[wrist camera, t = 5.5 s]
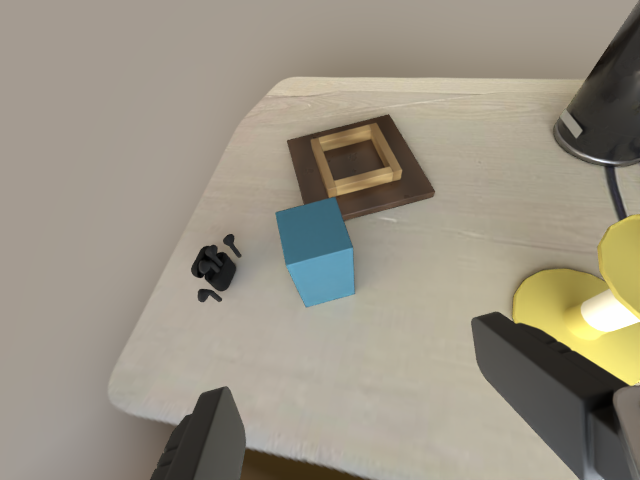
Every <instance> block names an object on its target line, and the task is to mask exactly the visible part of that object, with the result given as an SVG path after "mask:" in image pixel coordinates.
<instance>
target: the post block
mask: <svg viewBox="0 0 640 480" xmlns="http://www.w3.org/2000/svg"><path fill="white" fill-rule="evenodd" d="M275 214H276V219H277V224H278V229H279V234H280V239H281V244H282V249H283V254H284V259H285V263H286V267H287V269H288V271H289V273H290V275H291V277H292V279H293V281H294V283H295V285H296V288H297V290H298V292H299V294H300V296H301V298H302V300H303V302H304V304H305V306H306V307H309V306H313V305H317V304H320V303H324V302H327V301H331V300H335V299H338V298H342V297H346V296H349V295H353V294H355V289H354V262H353V246H352V243H351V240H350V238H349V235H348V232H347V229H346V226H345V223H344V220H343V218H342V215H341V212H340V209H339V206H338V203H337V200H336V198H335V197H332V198H328V199H324V200H321V201H317V202H313V203H309V204H305V205H302V206H298V207H294V208H290V209H286V210H283V211H279V212H276V213H275Z"/></svg>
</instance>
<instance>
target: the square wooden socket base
mask: <svg viewBox="0 0 640 480" xmlns="http://www.w3.org/2000/svg"><path fill="white" fill-rule="evenodd" d="M287 143H288V147H289V150H290V154H291V158H292V161H293V165H294V169H295V172H296V176H297V180H298V183H299V187H300V191H301V194H302V198H303V202H304V205H305V204H309V203H313V202H317V201H321V200H324V199H328V198H332V197H335V198H336V200H337V203H338V206H339V209H340V212H341V215H342V218H343V220H344V221H345V220H349V219H352V218H356V217H360V216H364V215H367V214H371V213H375V212H379V211H382V210H386V209H390V208H394V207H397V206H401V205H405V204H409V203H412V202H416V201H420V200H424V199H427V198H431V197H433V196H434V193H435V191H434V189H433V187H432V186H431V184H430V182H429V181H428V179H427V177H426V176H425V174H424V172H423V171H422V169H421V167H420V166H419V164H418V162H417V161H416V159H415V157H414V155H413V154H412V152H411V150H410V149H409V147H408V145H407V144H406V142H405V140H404V139H403V137H402V135H401V134H400V132H399V130H398V129H397V127H396V125H395V124H394V122H393V120H392V119H391V117H390V115H389V114H388V115H384V116H380V117H377V118H373V119H369V120H365V121H361V122H357V123H353V124H349V125H345V126H342V127H338V128H334V129H330V130H326V131H322V132H318V133H314V134H310V135H307V136H303V137H299V138H295V139H291V140H287Z"/></svg>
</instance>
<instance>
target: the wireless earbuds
mask: <svg viewBox="0 0 640 480" xmlns="http://www.w3.org/2000/svg"><path fill="white" fill-rule="evenodd" d="M223 242H224V244H226V245H228V246H230V248H231V249H232V250H233V252H234V253H235V254H236V256H237V257H238V258H241V254H240V253H239V251H238V250H237V248H236V247H235V246H234V244H233V242H234V235H233V234H229V235H227V236H226V237H225V238H224V240H223ZM235 271H236V266H235V264H234V263H233V262H232V260H231V259H230V258H229V257H228V255H227V254H226V253H224V252H220V253H217V246H216V245H211V246H205V247H203V248H202V249H201V250H200V252H199V254H198V256H197V258H196V260H195V262H194V263H193V265H192V268H191V272H192V274H193V275H194V276H195V277H198V278H202V277H203V276H204V275H205V280H206V281H207V282H208V283H210V284H211V285H212V286H213V287H214V288H215V289H216V290H218V291H224V290H226V289H227V288H228V287H229V285H230V282H231V280H232V278H233V276H234V273H235ZM209 295H211V296H212V297H213V298H214V299H215V300H217V301H218V302H221V301H222V298H221V297H220V296H218V295H217V294H216V293H215V292H214V291H212V290H208V289H200V290H199V291H198V300H199V301H200V302H204V301H205V300H206V299H207V298H208V296H209Z"/></svg>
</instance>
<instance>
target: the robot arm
mask: <svg viewBox="0 0 640 480" xmlns="http://www.w3.org/2000/svg"><path fill="white" fill-rule="evenodd" d="M554 136H555V139H556V140H557V142H558V143H559V145H560V146H561V147H562V148H563V149H564V150H566V151H567V152H568V153H570V154H571V155H573V156H575V157H577V158H579V159H581V160H584V161H586V162H589V163H593V164H597V165H602V166H611V167H620V166H629V165H633V164H636V163H638V162H640V0H639V1H638V3H637V4H636V6H635V7H634V9H633V10H632V12H631V13H630V15H629V16H628V18H627V19H626V21H625V22H624V24H623V25H622V27H621V28H620V30H619V31H618V33H617V34H616V36H615V37H614V39H613V40H612V41H611V43H610V44H609V46H608V48H607V49H606V51H605V52H604V53H603V55H602V56H601V58H600V60H599V61H598V62H597V64H596V66H595V67H594V68H593V70H592V71H591V73H590V75H589V76H588V77H587V79H586V80H585V82H584V83H583V85H582V86H581V88H580V89H579V91H578V92H577V94H576V95H575V97H574V98H573V100H572V101H571V103H570V104H569V106H568V107H567V109H565V110H564V111H563V113H562V114H561V116H560V117H559V119H558V120H557V122H556V123H555V126H554ZM471 325H472V332H473V339H474V346H475V353H476V360H477V363H478V366H479V368H480V370H481V372H482V374H483V376H484V377H485V378H486V380H487V381H488V382H489V383H490V384H491V385H492V386H493V387H494V388H495V389H496V390H497V392H498V393H499V394H500V395H501V396H502V397H503V398H504V399H505V400H506V401H507V402H508V403H509V404H510V405H511V406H512V407H513V409H514V410H515V411H516V412H517V413H518V414H519V415H520V416H521V417H522V418H523V419H524V420H525V421H526V422H527V423H528V425H529V426H530V427H531V428H532V429H533V430H534V431H535V432H536V433H537V434H538V435H539V436H540V437H541V438H542V439H543V441H544V442H545V443H546V444H547V445H548V446H549V447H550V448H551V449H552V450H553V451H554V452H555V453H556V454H557V455H558V456H559V458H560V459H561V460H562V461H563V462H564V463H565V464H566V465H567V466H568V467H569V468H570V469H571V470H572V471H573V472H574V474H575V475H576V476H577V477H578V478H579V479H580V480H602V479H604V480H640V386H630V385H629V384H627V383H625V382H624V381H622V380H621V379H619V378H617V377H616V376H614V375H613V374H611V373H610V372H608V371H606V370H605V369H603V368H602V367H600V366H598V365H597V364H595V363H594V362H592V361H590V360H589V359H587V358H586V357H584V356H582V355H581V354H579V353H578V352H576V351H572V350H571V348H570V347H568V346H566V345H565V344H563V343H562V342H558V341H557V339H555V338H554V337H552V336H551V335H549V334H547V333H546V332H544V331H543V330H541V329H539V328H536V327H533V326H530V325H527V324H524V323H521V322H520V323H517V324H516V323H514V322H513V321H511V320H510V319H508V318H507V317H505V316H504V315H502V314H501V313H499V312H493V313H489V314H485V315H482V316H478V317H475V318H473V319H472V321H471ZM245 446H246V437H245V430H244V425H243V423H242V420H241V417H240V415H239V412H238V409H237V407H236V404H235V402H234V399H233V396H232V394H231V391H230V389H229V388H228V387H227V386H225V387H222V388H218V389H214V390H211V391H207V392H204V393H202V394H201V395H200V397H199V399H198V401H197V404H196V406H195V408H194V411H193V413H192V414H190V415H186V416H185V417H184V419H183V420H182V421H181V422H180V424H179V425H178V426H177V427H176V428H175V430H174V431H173V432H172V434H171V436H170V439H169V441H168V443H167V445H166V447H165V449H164V453H163V454H162V455H161V458H160V460H159V462H158V464H157V469H155V470H154V472H153V474H152V477H151V479H150V480H240V475H241V470H242V464H243V458H244V453H245Z"/></svg>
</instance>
